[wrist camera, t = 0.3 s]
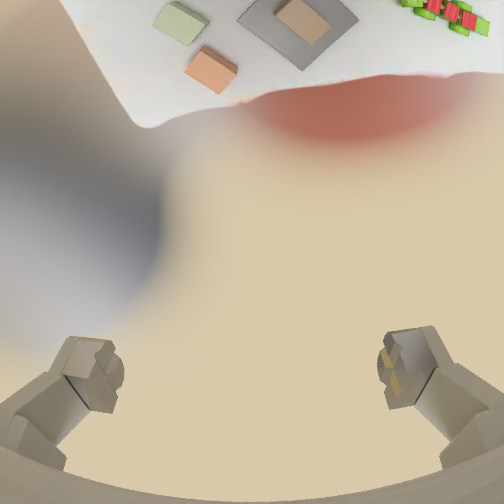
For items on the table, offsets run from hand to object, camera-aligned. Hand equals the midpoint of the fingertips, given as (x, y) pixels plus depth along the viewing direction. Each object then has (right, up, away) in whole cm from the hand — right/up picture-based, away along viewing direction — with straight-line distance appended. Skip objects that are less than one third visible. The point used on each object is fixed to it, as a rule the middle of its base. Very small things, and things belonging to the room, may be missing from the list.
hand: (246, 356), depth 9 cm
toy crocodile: (+33, +46, +25) cm, 62 cm away
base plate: (+8, +40, +31) cm, 51 cm away
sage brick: (-11, +40, +31) cm, 52 cm away
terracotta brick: (-6, +35, +38) cm, 51 cm away
